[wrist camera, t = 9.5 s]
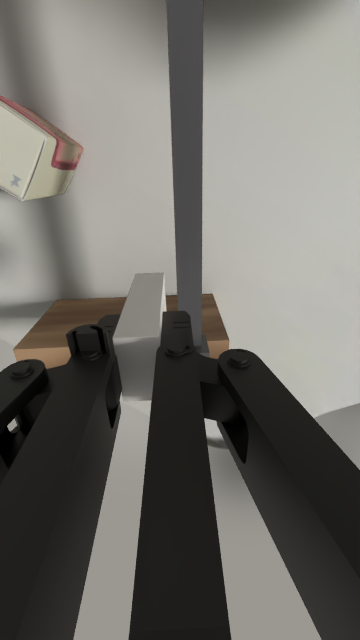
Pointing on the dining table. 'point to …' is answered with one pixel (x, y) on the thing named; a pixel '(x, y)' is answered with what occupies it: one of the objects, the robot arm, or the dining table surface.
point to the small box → (34, 154)
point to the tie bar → (187, 154)
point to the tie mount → (67, 314)
